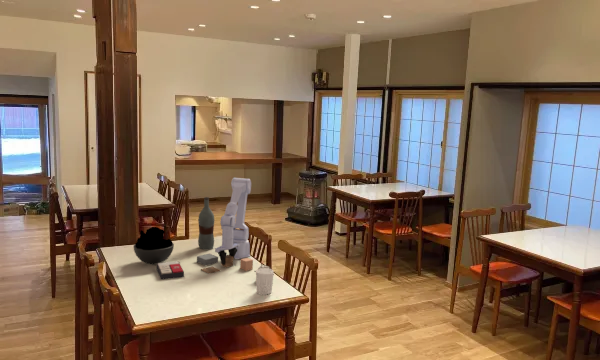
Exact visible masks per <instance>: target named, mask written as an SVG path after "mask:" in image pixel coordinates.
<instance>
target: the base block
mask: <svg viewBox="0 0 600 360" xmlns="http://www.w3.org/2000/svg"><path fill="white" fill-rule="evenodd" d="M196 263H198V264H201V265H203V266H210V265H215V264H218V263H219V256H217V255H215V254H212V253H205V254H200V255H197V256H196Z"/></svg>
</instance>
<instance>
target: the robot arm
mask: <svg viewBox="0 0 600 360" xmlns="http://www.w3.org/2000/svg"><path fill="white" fill-rule="evenodd" d="M230 182H231V184H230V185H231V190H232V192H231V197H230V201H229V202H228V203H227V204H226V207H225V211H224V214H222V216H221V218H220V220H219V223H220V226H221V227H220V228H221V229H220V230H222V231H221V232H222V234H221V238H222V239H221V245H220V246H218V247H216V248H214V252H215V253H218V257H219V258H220V263H222V264H223V265H225V259H226V255H230V256H233V261H234V260H241V259H244V258H249V257H251V255H250V252H251V251H250V248H251V246H250V242H249V240H248V239H249V235H250V233H249V230H250V228H249V227H248V226H247V225H246V223H245V220H246V219H245V218H246V210H247V200H248V195H250V194H251V192H252V180H251V179H250V178H242V177H233V178H232V179H231V181H230ZM226 251H228V253H227V252H226Z"/></svg>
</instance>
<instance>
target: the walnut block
mask: <svg viewBox="0 0 600 360" xmlns="http://www.w3.org/2000/svg"><path fill="white" fill-rule="evenodd" d="M220 263H221V262H220ZM220 266H222V267H224V268H226V269H227V268H231V267H234V260H233V256H230V255H229V254H226V259H225V265H223V264H222V263H221V264H220Z"/></svg>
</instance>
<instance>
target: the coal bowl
mask: <svg viewBox="0 0 600 360" xmlns="http://www.w3.org/2000/svg"><path fill="white" fill-rule="evenodd" d="M165 232H166V231H165V230H164V229H162V228H160V227H158V226H151V227H149V228H148V229H146V232H144V231H143V230H140V233H139V237H138V238H137V240H136V242H135V243H134V244H133V251H134V255H135V256H136V257H137V258H138V259H139V260H140V261H141V262H143V263H144V264H148V265H157V263H163V262H165V261H167V259H169V257H170V256H171V255H172V253H173V251H174V247H175V246H174V245H175V244H174V242H173V241H172V239H170V238H169V239H166V238H165Z"/></svg>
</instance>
